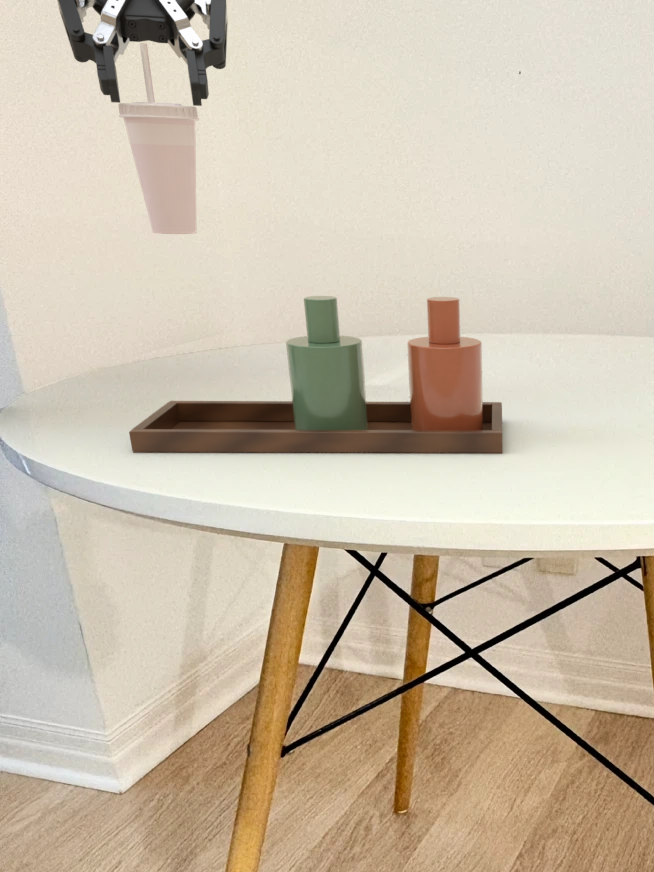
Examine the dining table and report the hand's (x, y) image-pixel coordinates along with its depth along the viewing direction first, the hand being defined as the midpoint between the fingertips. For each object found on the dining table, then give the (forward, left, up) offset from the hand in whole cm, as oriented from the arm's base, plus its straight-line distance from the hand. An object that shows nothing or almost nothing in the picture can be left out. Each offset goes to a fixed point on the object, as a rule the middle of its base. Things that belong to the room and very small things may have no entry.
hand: (156, 95), depth 83 cm
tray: (+15, -19, -24) cm, 34 cm away
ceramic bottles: (+20, -19, -23) cm, 36 cm away
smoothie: (-1, +2, -11) cm, 11 cm away
